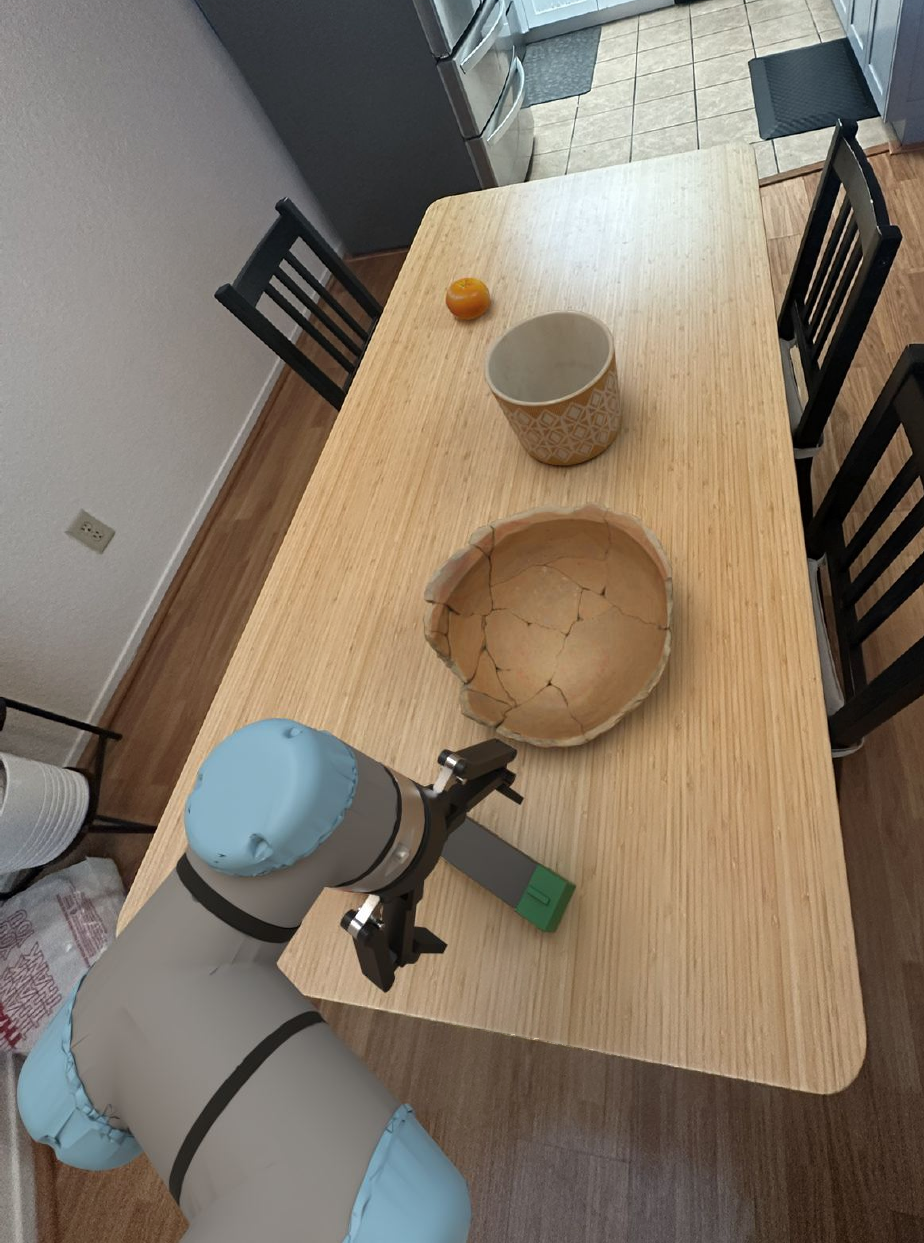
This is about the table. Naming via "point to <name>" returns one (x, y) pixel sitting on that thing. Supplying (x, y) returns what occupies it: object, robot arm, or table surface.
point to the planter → (557, 385)
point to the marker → (509, 874)
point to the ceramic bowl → (554, 621)
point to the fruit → (468, 298)
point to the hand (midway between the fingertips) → (474, 864)
